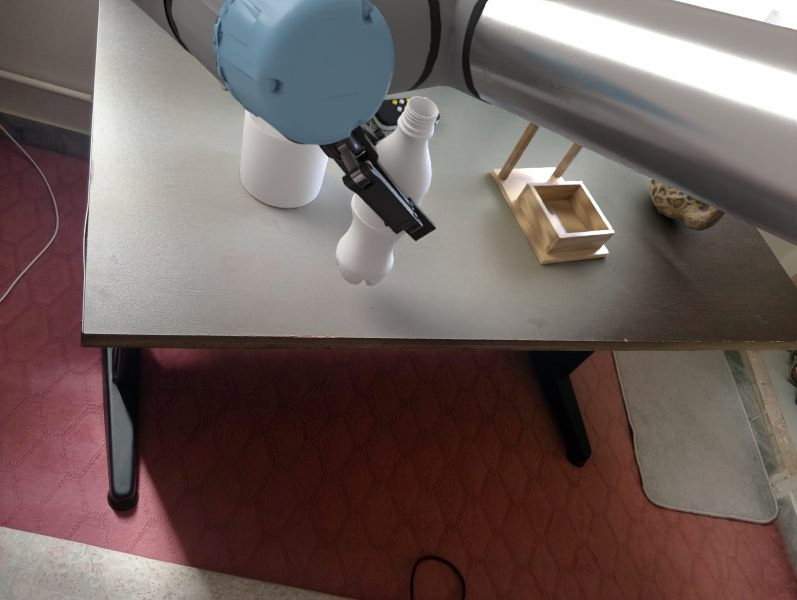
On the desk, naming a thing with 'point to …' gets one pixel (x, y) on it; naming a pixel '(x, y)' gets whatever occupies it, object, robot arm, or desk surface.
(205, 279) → the desk surface
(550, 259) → the rack
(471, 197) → the desk surface
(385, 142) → the water bottle
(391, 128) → the remote control
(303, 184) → the cup
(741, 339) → the desk surface
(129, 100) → the desk surface
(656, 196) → the teapot
